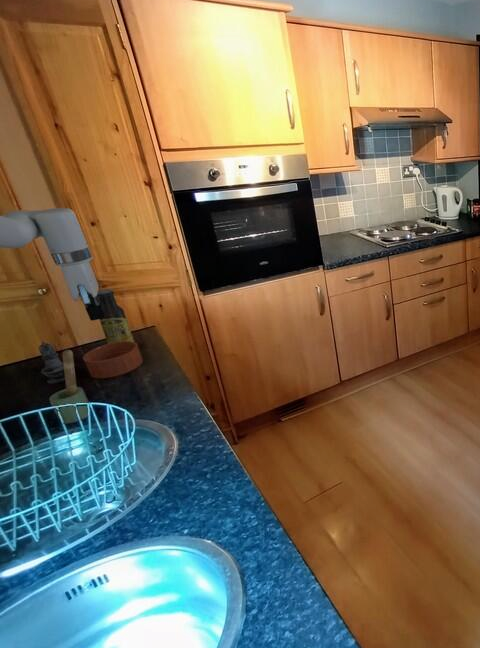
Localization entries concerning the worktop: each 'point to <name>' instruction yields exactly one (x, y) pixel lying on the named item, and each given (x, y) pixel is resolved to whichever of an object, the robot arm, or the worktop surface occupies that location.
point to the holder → (70, 412)
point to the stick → (69, 372)
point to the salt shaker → (52, 364)
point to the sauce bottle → (113, 319)
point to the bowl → (113, 359)
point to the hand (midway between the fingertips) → (98, 317)
